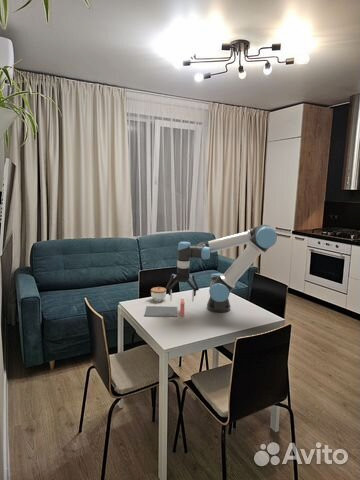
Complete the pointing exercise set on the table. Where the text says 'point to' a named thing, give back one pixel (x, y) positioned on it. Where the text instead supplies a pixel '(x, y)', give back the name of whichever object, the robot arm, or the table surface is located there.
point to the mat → (161, 311)
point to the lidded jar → (158, 293)
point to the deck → (182, 307)
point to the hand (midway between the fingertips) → (181, 300)
